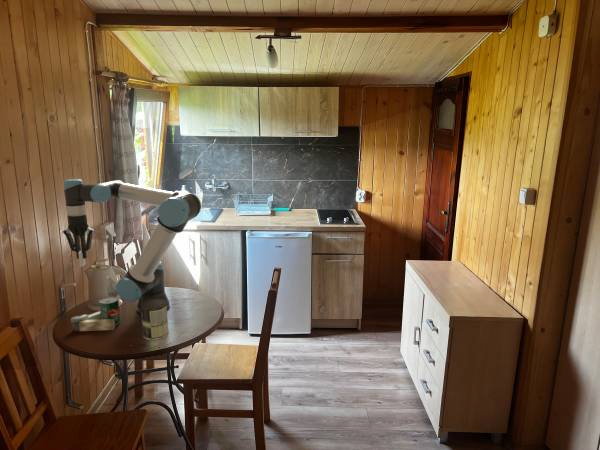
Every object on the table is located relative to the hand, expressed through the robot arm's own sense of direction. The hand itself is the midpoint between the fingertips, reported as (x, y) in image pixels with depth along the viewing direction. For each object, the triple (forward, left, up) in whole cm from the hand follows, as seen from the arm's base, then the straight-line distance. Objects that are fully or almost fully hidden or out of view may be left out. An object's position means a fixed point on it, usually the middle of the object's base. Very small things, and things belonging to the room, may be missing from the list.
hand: (82, 265), depth 197 cm
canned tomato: (-13, +9, -25) cm, 29 cm away
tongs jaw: (-5, +10, -24) cm, 27 cm away
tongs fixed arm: (-8, +15, -24) cm, 30 cm away
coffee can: (-36, +22, -25) cm, 49 cm away
